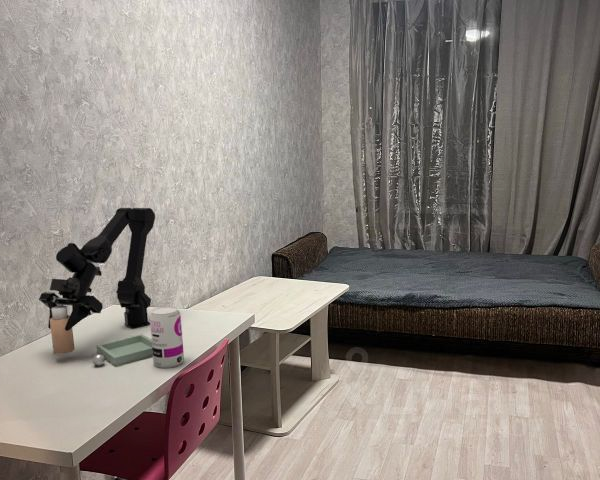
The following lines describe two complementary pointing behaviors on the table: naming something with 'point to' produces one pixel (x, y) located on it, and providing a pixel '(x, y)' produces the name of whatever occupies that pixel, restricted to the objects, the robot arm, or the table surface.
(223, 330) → the table surface
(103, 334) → the table surface
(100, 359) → the ball
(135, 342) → the tray
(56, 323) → the shaker
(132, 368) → the table surface
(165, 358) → the supplement can
